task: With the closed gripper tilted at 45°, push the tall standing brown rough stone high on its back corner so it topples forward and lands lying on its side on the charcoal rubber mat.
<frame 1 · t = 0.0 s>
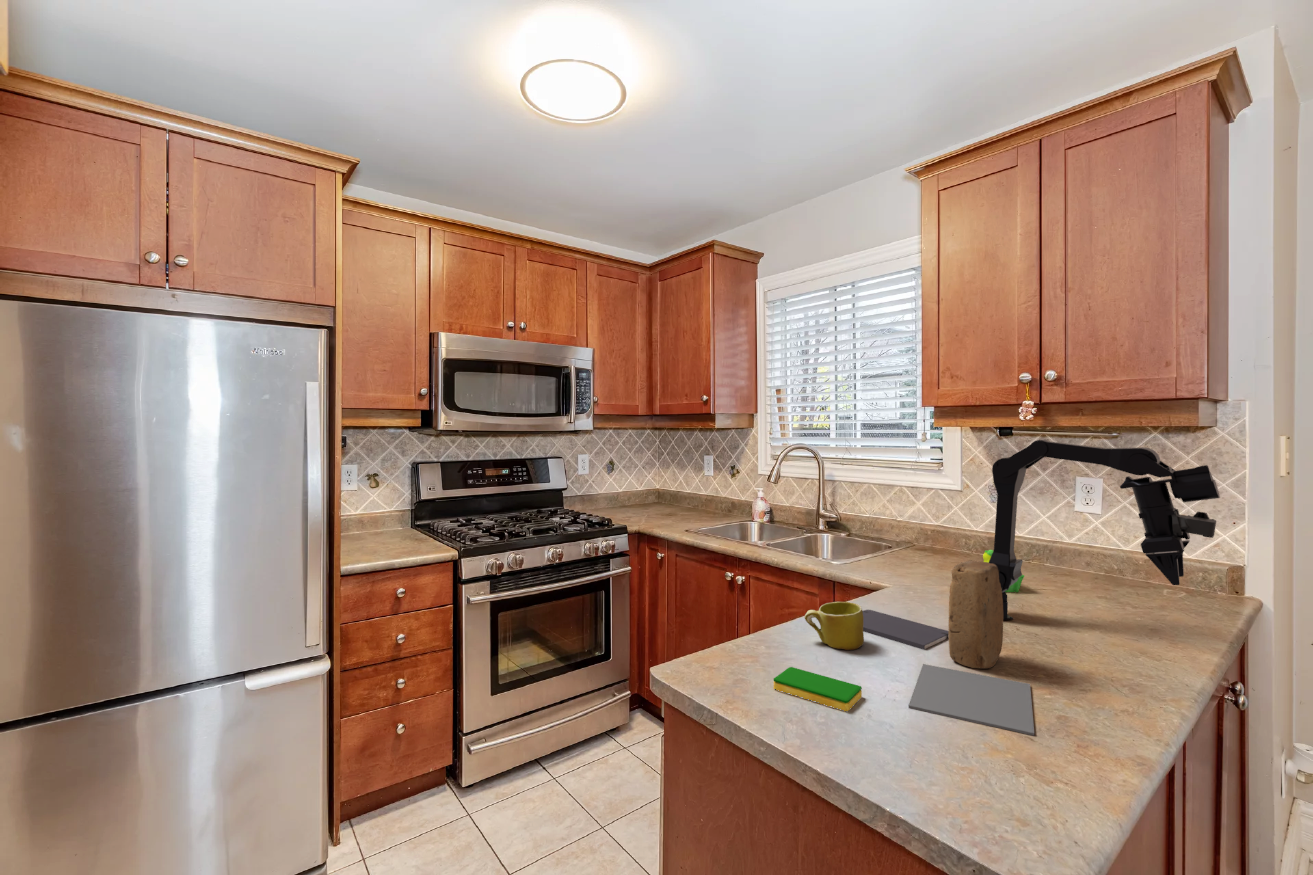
hand: (1178, 580, 123), 15 cm above the countertop, fingers open, 9 cm apart
mug: (833, 644, 130), on the countertop
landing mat: (971, 696, 105), on the countertop
brown rough stone: (976, 662, 120), on the countertop
fruit basket: (998, 588, 173), on the countertop
dish sponge: (816, 696, 106), on the countertop
notebook: (893, 632, 139), on the countertop
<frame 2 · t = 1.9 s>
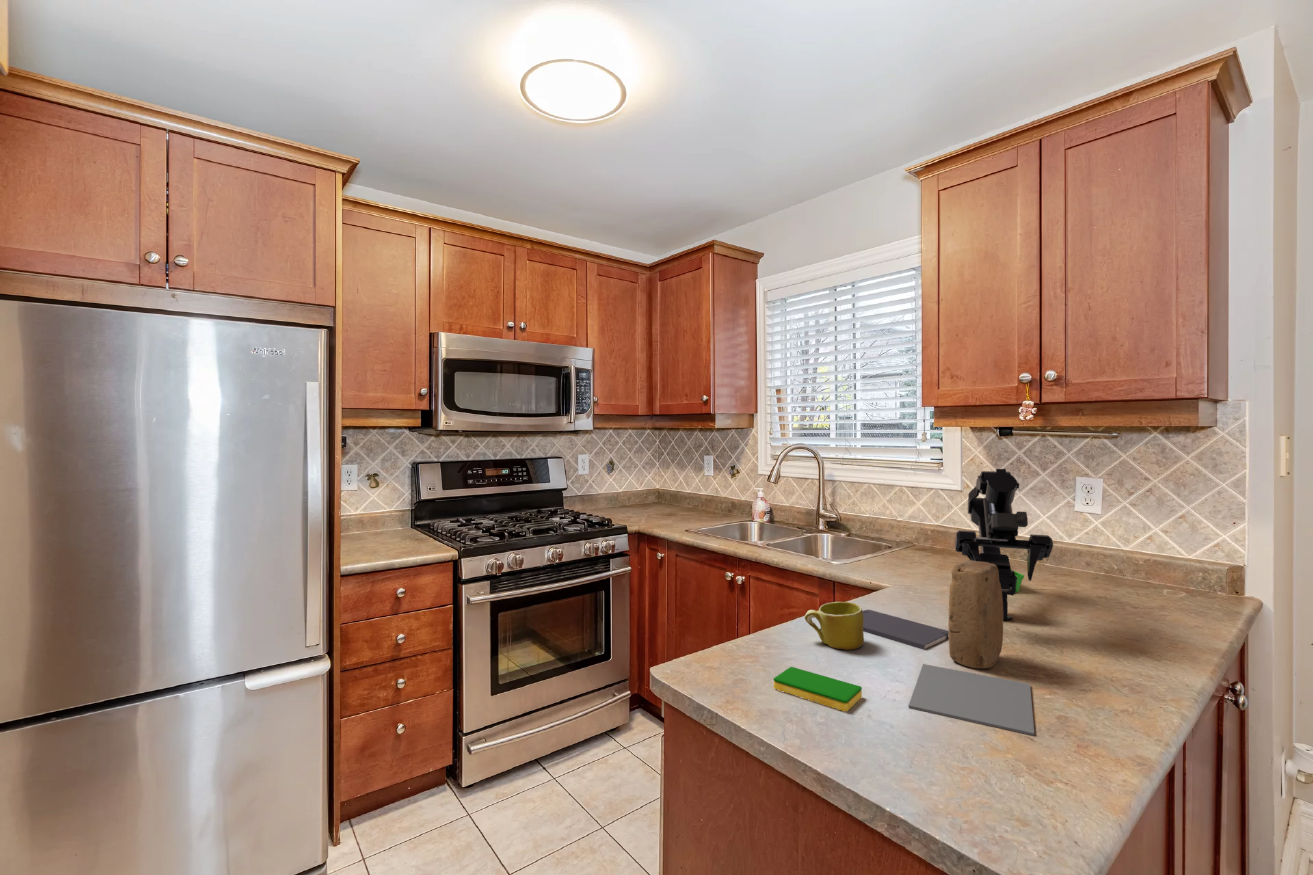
hand: (1005, 577, 129), 14 cm above the countertop, fingers open, 9 cm apart
nothing on the countertop moved.
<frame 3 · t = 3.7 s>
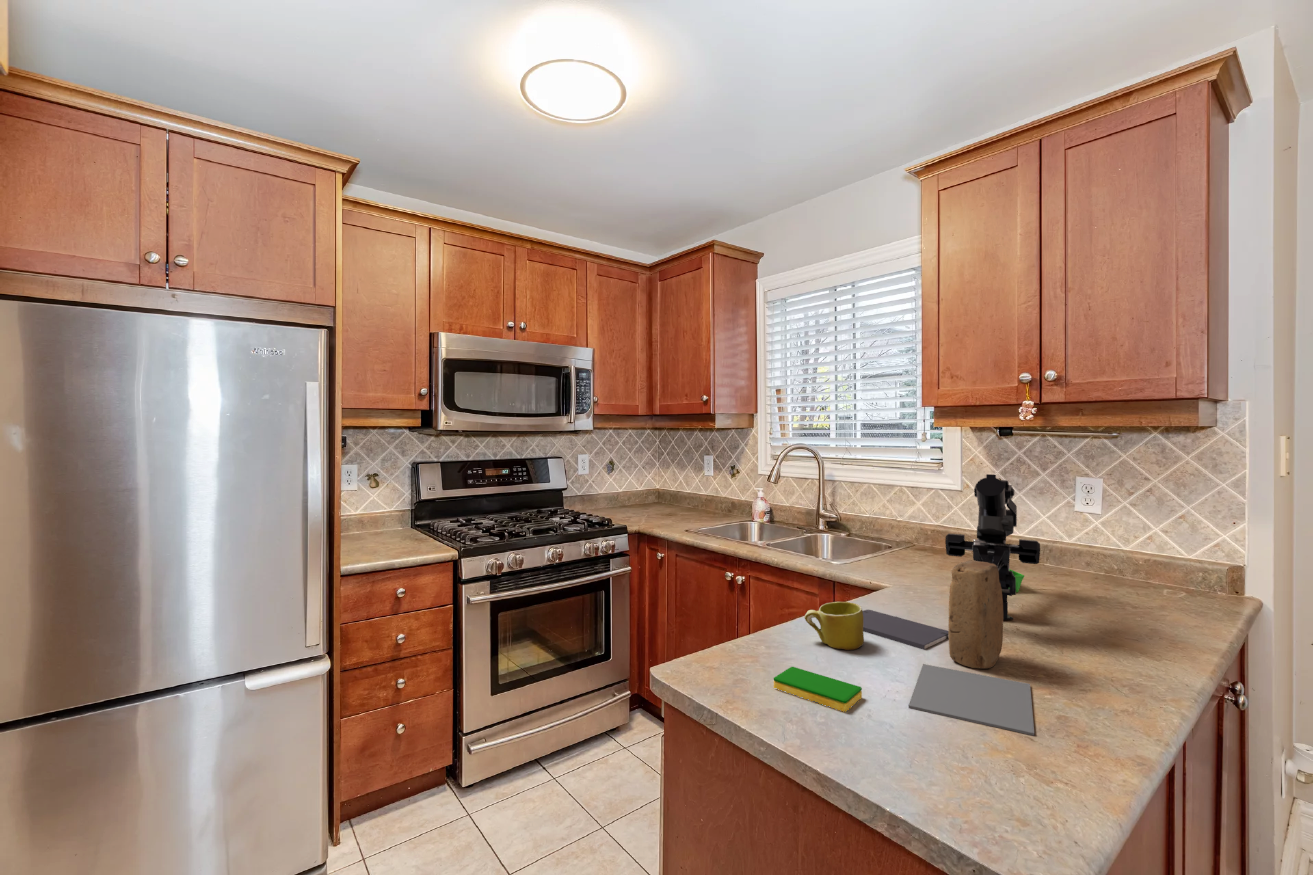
hand: (990, 579, 131), 13 cm above the countertop, fingers closed
nothing on the countertop moved.
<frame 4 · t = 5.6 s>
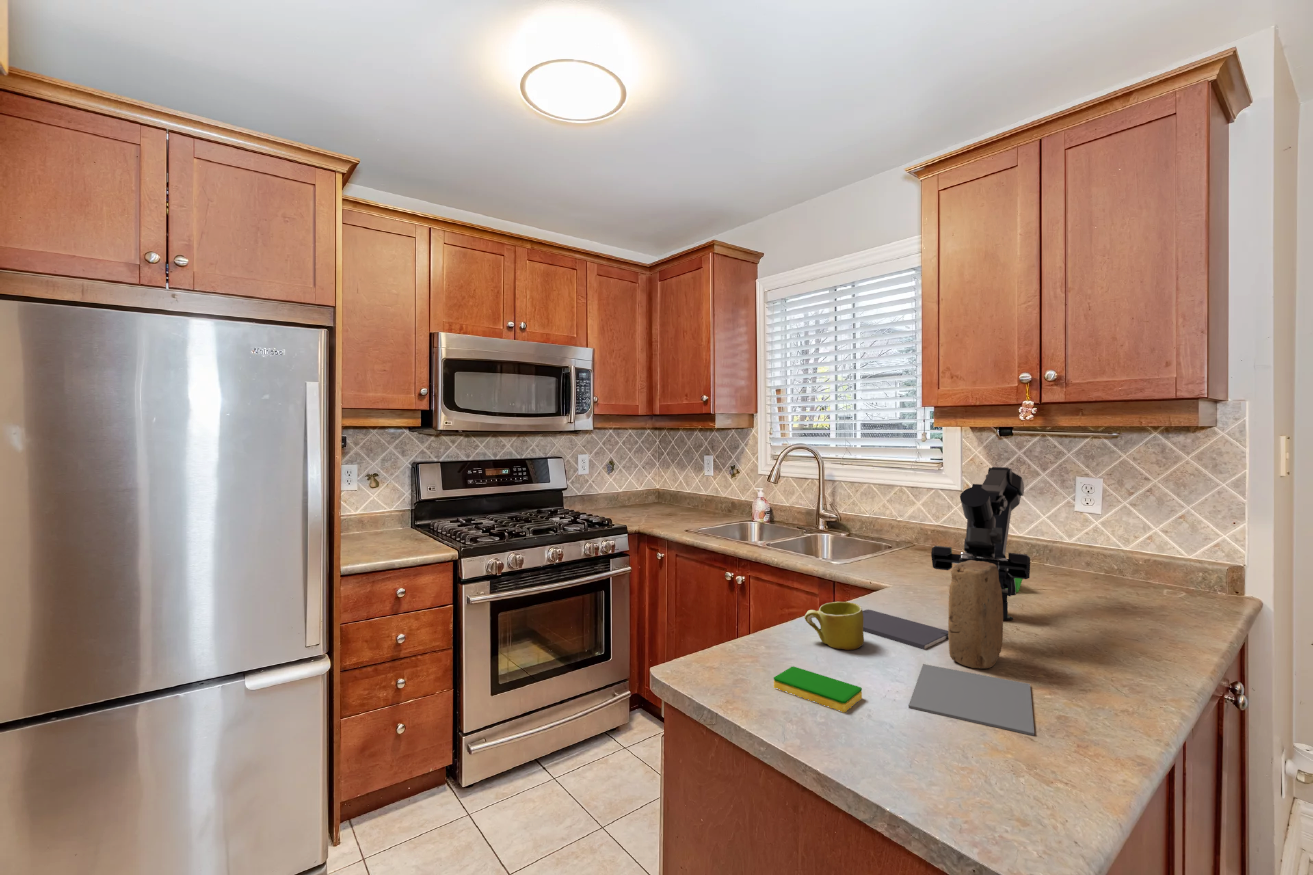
hand: (977, 595, 124), 12 cm above the countertop, fingers closed, pressing on brown rough stone
brown rough stone: (976, 661, 120), on the countertop, touching gripper
everything else where it was.
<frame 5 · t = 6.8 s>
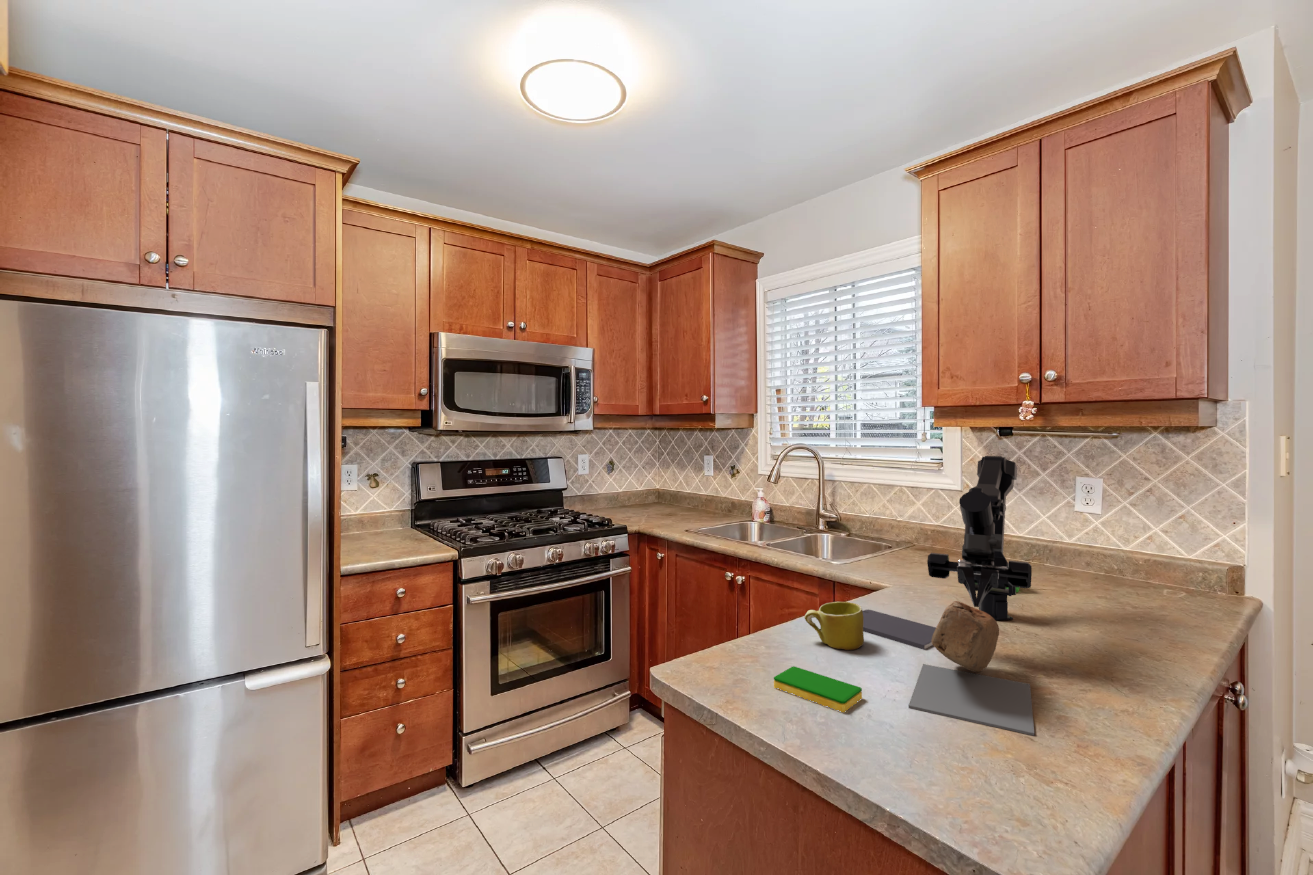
hand: (976, 606, 118), 12 cm above the countertop, fingers closed
brown rough stone: (975, 643, 118), point 5 cm above the countertop
everything else where it was.
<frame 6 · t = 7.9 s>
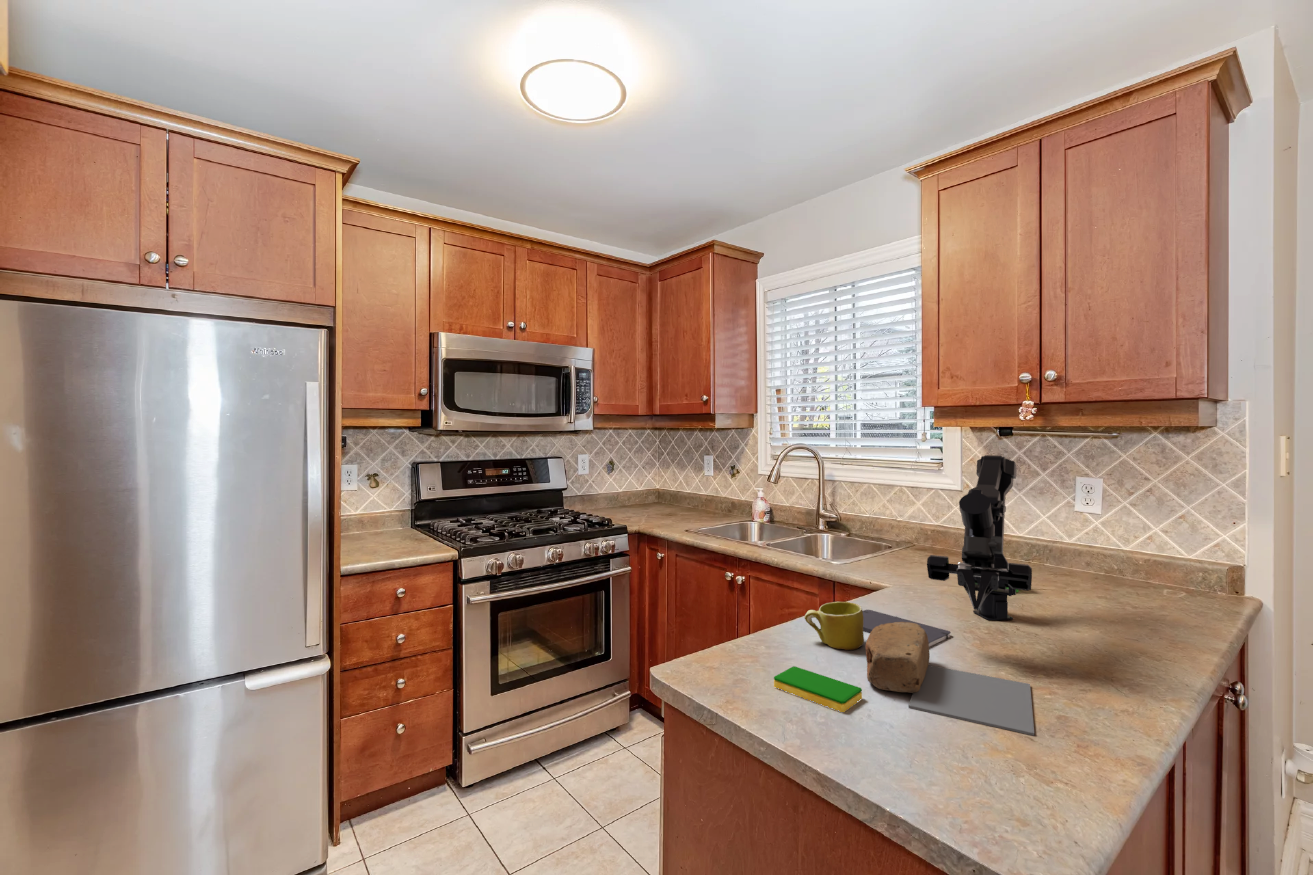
hand: (976, 608, 117), 12 cm above the countertop, fingers closed
brown rough stone: (902, 637, 123), point 4 cm above the countertop, touching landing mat
everything else where it was.
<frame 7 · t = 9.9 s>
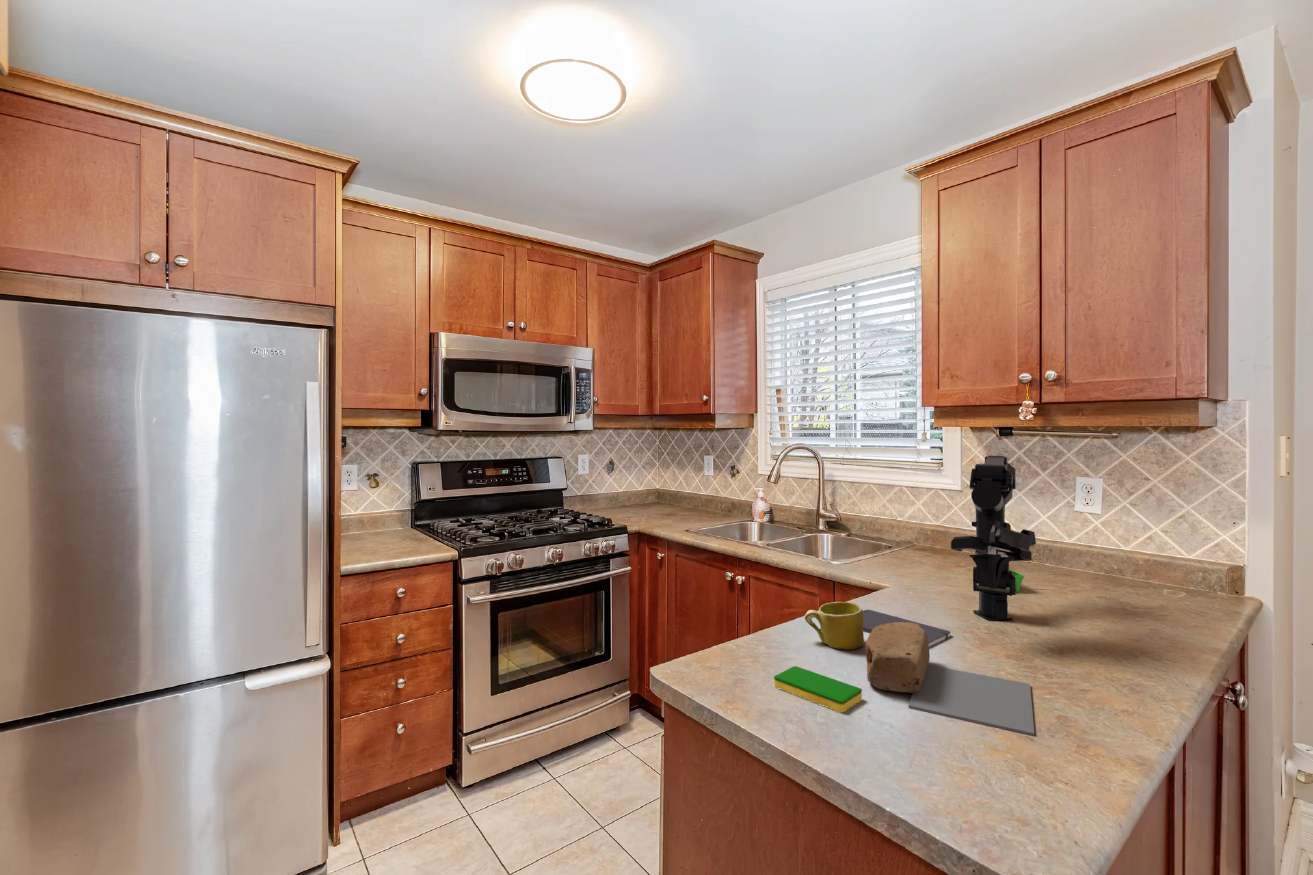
hand: (992, 588, 130), 12 cm above the countertop, fingers closed
nothing on the countertop moved.
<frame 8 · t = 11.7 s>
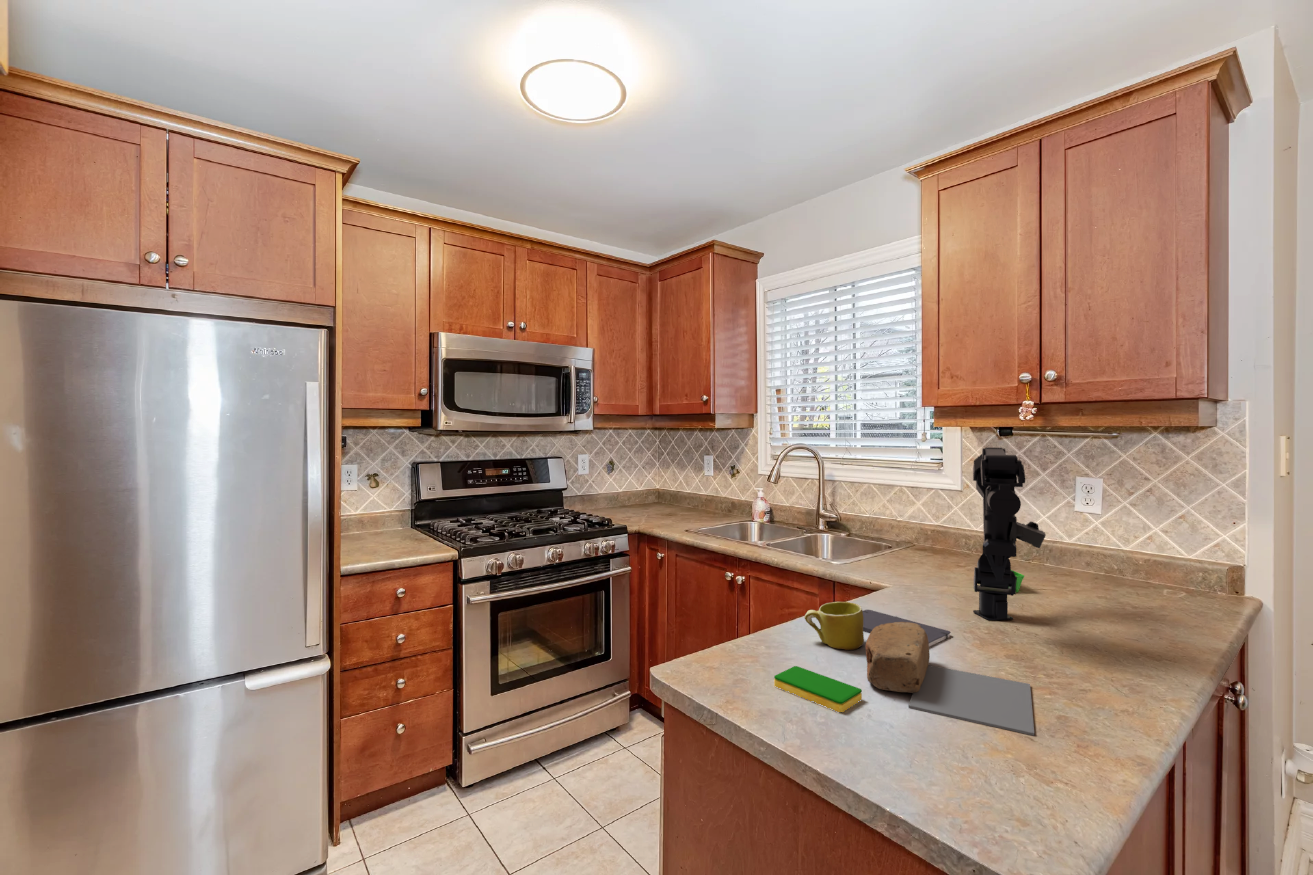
hand: (999, 580, 133), 13 cm above the countertop, fingers closed
nothing on the countertop moved.
at the end: brown rough stone tilted 90°; brown rough stone touching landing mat, countertop; brown rough stone inside the target area (14.9 cm from its centre), point 3.8 cm above the countertop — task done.
